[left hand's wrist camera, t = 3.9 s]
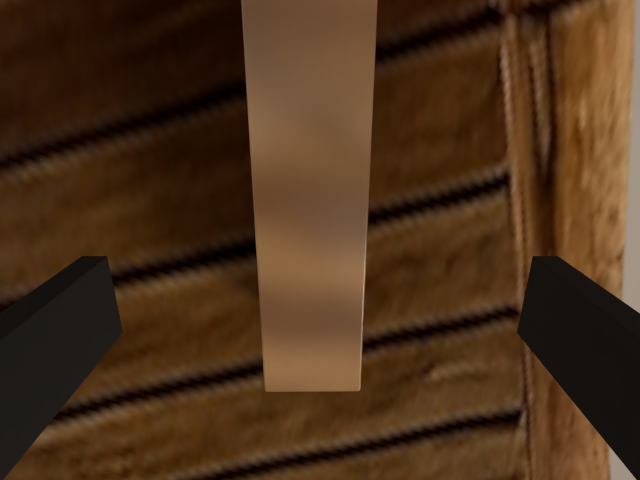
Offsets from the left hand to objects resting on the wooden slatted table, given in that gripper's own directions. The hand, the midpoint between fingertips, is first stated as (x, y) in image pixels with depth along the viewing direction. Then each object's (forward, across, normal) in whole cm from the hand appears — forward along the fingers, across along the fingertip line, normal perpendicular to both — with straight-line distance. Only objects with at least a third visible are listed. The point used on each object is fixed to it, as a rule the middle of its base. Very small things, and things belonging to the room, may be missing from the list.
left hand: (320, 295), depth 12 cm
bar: (+11, 0, -19) cm, 22 cm away
